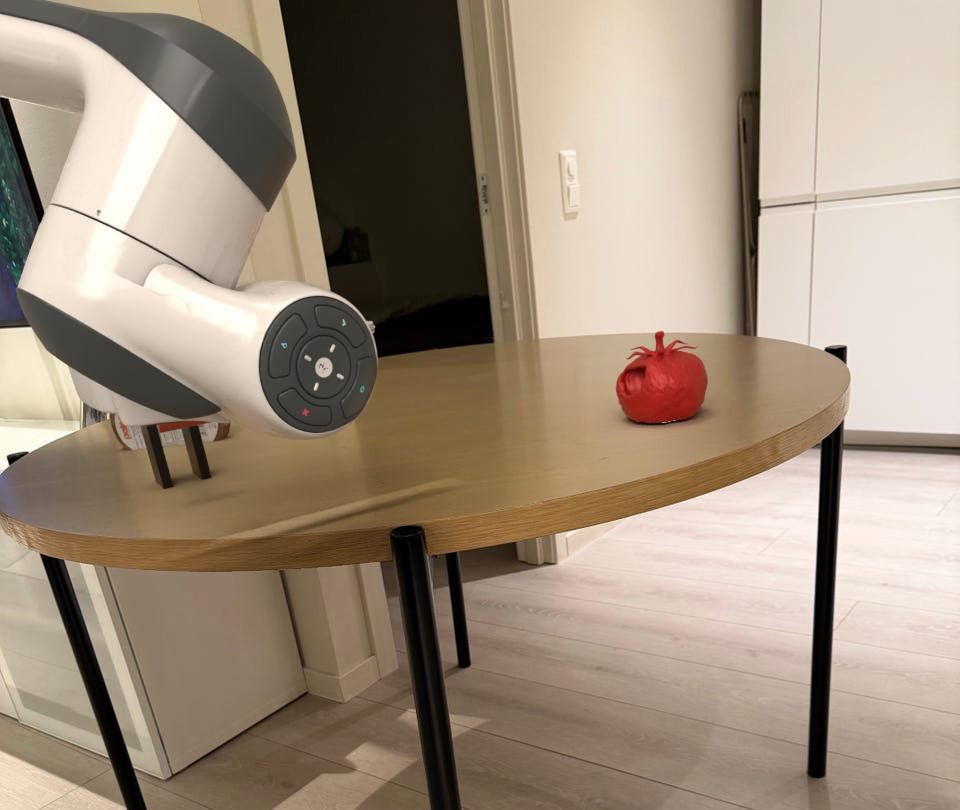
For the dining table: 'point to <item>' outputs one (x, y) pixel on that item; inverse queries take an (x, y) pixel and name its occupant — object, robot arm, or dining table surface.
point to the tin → (165, 434)
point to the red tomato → (662, 384)
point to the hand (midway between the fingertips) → (195, 345)
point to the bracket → (159, 459)
